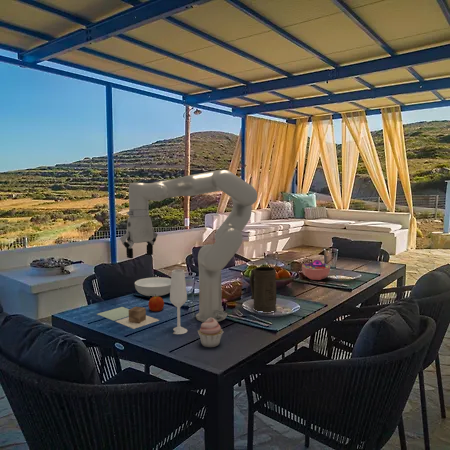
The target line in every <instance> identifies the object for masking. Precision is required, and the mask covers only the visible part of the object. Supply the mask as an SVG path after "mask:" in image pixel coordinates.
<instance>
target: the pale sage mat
mask: <svg viewBox="0 0 450 450" xmlns="http://www.w3.org/2000/svg"><path fill="white" fill-rule="evenodd" d="M130 309H131V308H130ZM130 309H129V308H127V307H124V306H120V307H116V308H112V309H110V310H105V311H103V312H102V311H101V312H99V313H96V316H101V317H103V318H106V319H108V320H111V321H117V320H121V319H124V318H127V317H129V311H128V310H130Z"/></svg>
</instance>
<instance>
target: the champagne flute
mask: <svg viewBox="0 0 450 450" xmlns="http://www.w3.org/2000/svg"><path fill="white" fill-rule="evenodd" d="M170 277H171V278H170V279H171V289H170V293H169V301H170V302H171V304H172V306H174V307H176V310H177V311H176V313H177V314H176V315H177V316H176V317H177V318H176V319H177V322H176V323H177V326H176V327H173V329H172V330H173V331H172V334H173V335H184V334H186V333H188V329H187V328H185V327H183V326H182V325H181V307H183V306H184V304H185V303H186V302H187V301H188V295H187V294H188V293H187V283H186V275H185V270H184V269H173V270H171V276H170Z"/></svg>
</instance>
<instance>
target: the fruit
mask: <svg viewBox="0 0 450 450" xmlns="http://www.w3.org/2000/svg"><path fill="white" fill-rule="evenodd" d="M155 296H156V294H155ZM164 306H165V301H164V299H163V297H162V296H156V297H150V299H149V300H148V308H149V310H150V311H151V312H156V313H157V312H161V311H162V310H163V308H165V307H164Z"/></svg>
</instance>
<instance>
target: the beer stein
mask: <svg viewBox="0 0 450 450" xmlns="http://www.w3.org/2000/svg"><path fill="white" fill-rule="evenodd" d="M250 271H251V272H250V277H249V287H250V290H251V297H250V300H253V306H252V309H253V308H254V309H255V310H257V311H263V312H271V311H275V312H276V311H277V306H276V305H277V281H276V275H277V274H276V273H277V272H276V268H274V267H271V266H270V267H269V266H259V267H256V268H253V269H252V268H251V270H250Z"/></svg>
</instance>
